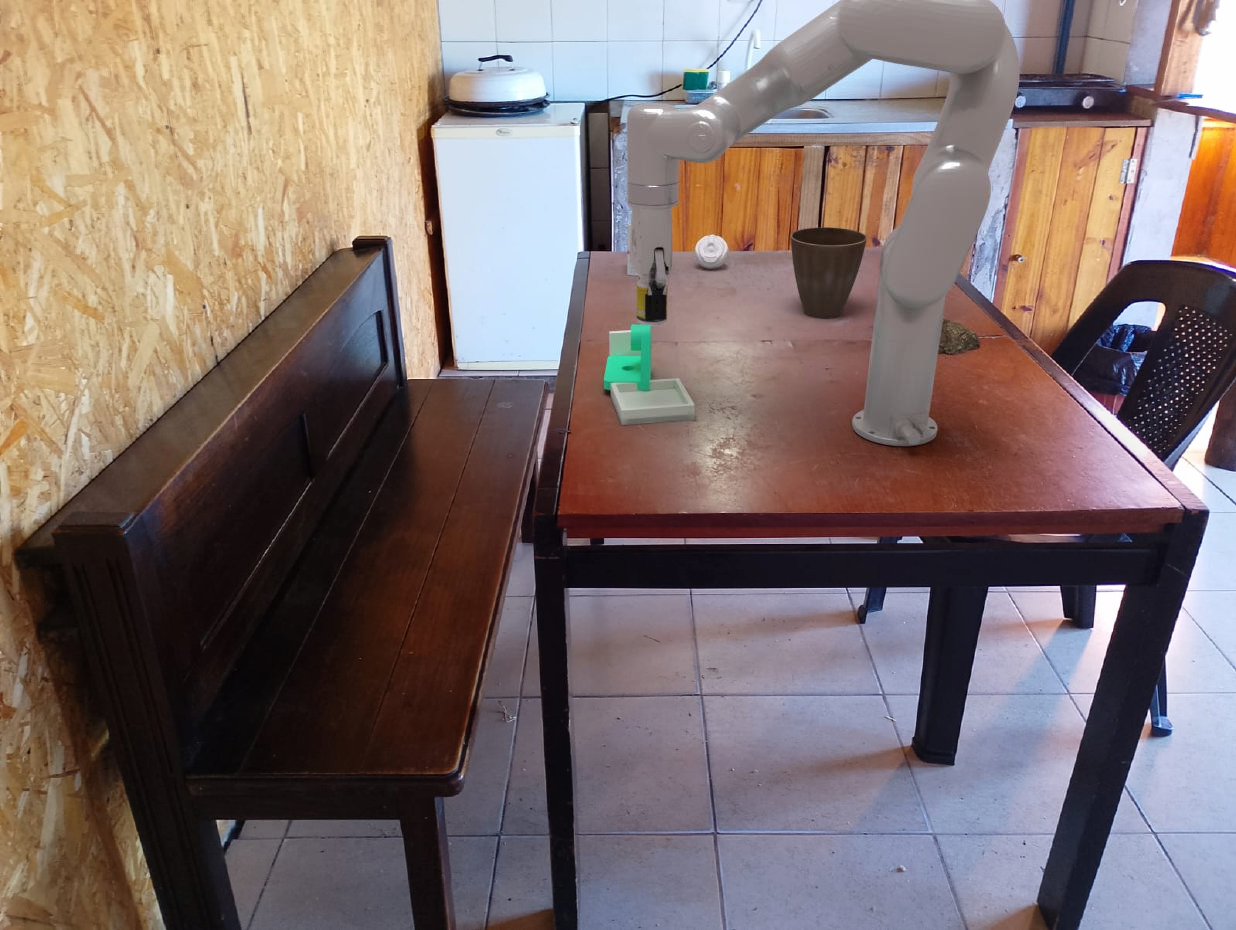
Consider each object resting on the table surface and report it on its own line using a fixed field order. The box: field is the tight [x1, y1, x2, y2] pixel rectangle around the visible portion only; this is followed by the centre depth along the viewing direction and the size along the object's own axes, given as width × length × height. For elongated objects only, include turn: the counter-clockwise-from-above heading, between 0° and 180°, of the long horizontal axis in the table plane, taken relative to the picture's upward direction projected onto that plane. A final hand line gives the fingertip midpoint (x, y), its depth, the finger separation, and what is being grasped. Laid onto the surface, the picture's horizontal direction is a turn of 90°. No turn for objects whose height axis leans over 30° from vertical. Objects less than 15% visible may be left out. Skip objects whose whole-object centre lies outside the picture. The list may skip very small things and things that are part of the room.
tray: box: [610, 377, 696, 426], centre depth 156 cm, size 12×12×2 cm
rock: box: [938, 318, 981, 356], centre depth 182 cm, size 13×12×5 cm
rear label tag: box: [608, 329, 641, 356], centre depth 171 cm, size 1×6×7 cm, turn 99°
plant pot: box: [790, 227, 868, 319], centre depth 196 cm, size 15×15×16 cm
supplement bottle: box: [636, 270, 669, 327], centre depth 148 cm, size 5×5×8 cm
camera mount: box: [603, 324, 653, 391], centre depth 164 cm, size 12×8×10 cm, turn 177°
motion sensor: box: [694, 234, 729, 270], centre depth 230 cm, size 8×8×8 cm
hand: (652, 312), depth 150 cm, fingers closed on supplement bottle, 4 cm apart
